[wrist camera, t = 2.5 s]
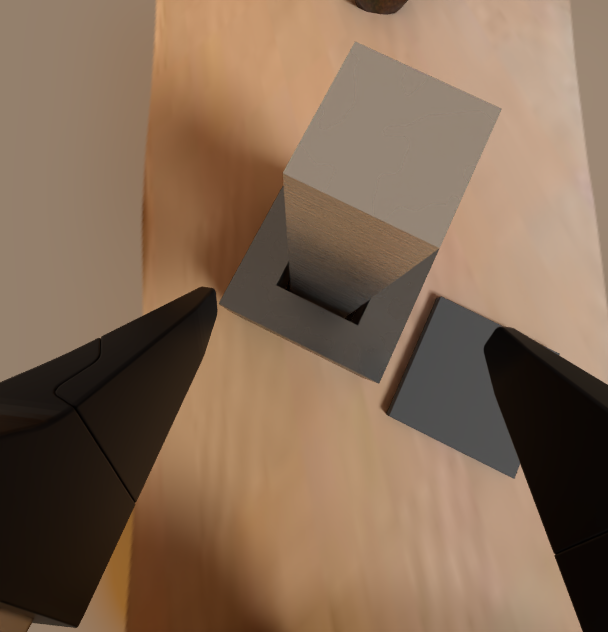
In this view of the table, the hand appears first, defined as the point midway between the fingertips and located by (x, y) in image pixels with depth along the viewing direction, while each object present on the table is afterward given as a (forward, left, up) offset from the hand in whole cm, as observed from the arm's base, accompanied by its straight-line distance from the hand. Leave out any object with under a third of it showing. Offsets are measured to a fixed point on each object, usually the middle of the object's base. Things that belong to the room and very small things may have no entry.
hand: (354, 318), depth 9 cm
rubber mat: (+2, -11, -11) cm, 16 cm away
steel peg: (+4, +1, -11) cm, 12 cm away
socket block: (+4, +1, -11) cm, 12 cm away
